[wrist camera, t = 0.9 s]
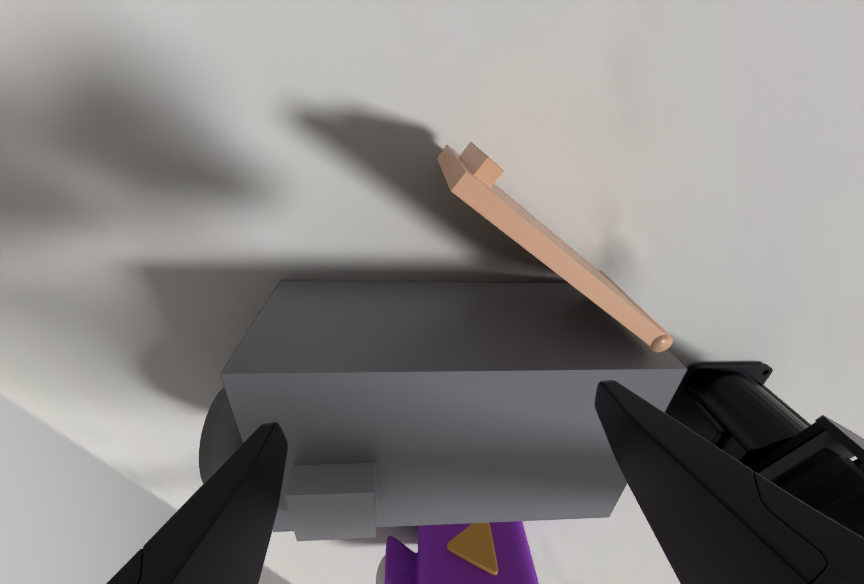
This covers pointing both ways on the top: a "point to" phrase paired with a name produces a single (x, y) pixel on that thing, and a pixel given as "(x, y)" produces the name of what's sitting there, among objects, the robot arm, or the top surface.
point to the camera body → (432, 402)
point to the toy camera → (461, 556)
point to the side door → (543, 240)
